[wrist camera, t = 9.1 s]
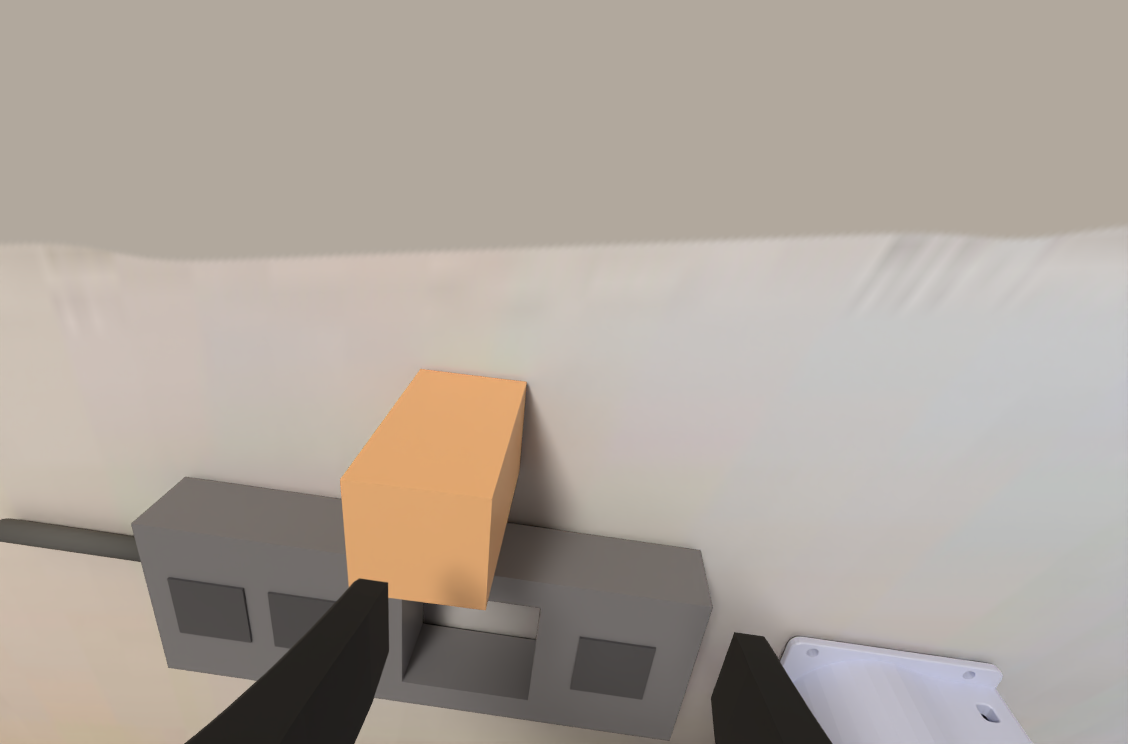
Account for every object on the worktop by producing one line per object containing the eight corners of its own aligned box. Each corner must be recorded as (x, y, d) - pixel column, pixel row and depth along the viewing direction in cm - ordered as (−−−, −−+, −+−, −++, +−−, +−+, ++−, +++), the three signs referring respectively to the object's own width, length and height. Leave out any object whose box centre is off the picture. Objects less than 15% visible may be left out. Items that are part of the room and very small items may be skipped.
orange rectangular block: (526, 381, 21) (492, 498, 15) (519, 470, 23) (485, 610, 16) (420, 369, 21) (339, 479, 15) (421, 458, 23) (349, 592, 16)
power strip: (700, 550, 24) (713, 609, 21) (663, 677, 27) (669, 743, 24) (-23, 447, 24) (-107, 491, 21) (29, 585, 27) (-37, 640, 24)
